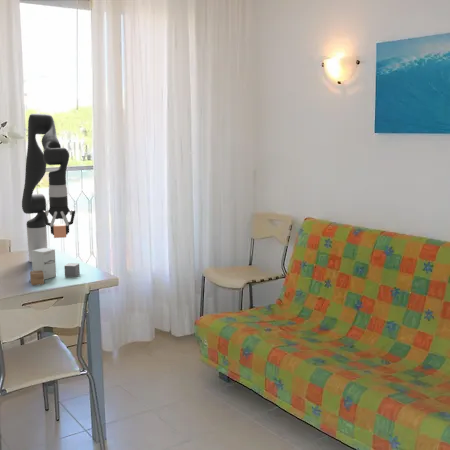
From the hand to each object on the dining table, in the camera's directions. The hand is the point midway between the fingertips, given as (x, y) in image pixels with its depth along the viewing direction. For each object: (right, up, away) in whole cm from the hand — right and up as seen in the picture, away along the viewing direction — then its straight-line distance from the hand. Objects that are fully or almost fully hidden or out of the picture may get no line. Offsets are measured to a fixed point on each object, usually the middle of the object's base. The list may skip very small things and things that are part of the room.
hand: (60, 234), depth 261 cm
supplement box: (-9, -20, +9) cm, 24 cm away
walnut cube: (-10, -21, 0) cm, 23 cm away
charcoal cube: (+2, -19, +13) cm, 23 cm away
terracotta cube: (0, -1, 0) cm, 1 cm away
